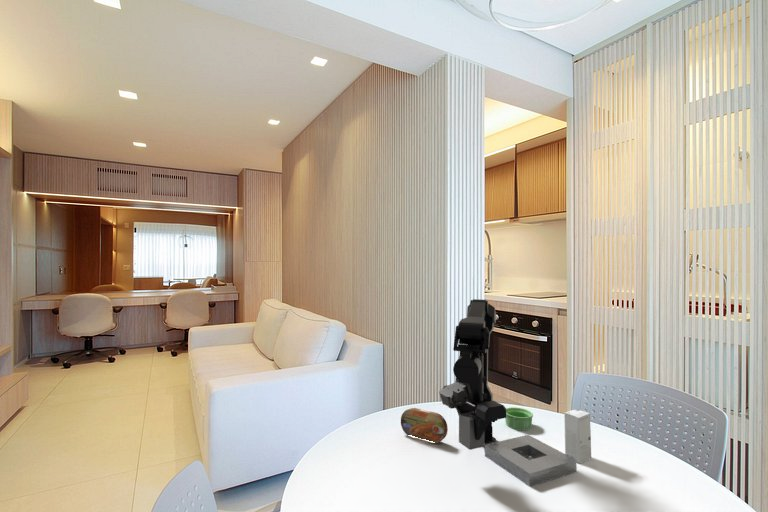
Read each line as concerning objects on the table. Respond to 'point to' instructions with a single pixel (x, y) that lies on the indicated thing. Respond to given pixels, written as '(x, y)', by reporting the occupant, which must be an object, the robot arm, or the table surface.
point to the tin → (424, 424)
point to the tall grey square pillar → (468, 432)
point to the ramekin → (518, 418)
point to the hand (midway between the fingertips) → (471, 435)
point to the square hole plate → (532, 471)
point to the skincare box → (578, 435)
